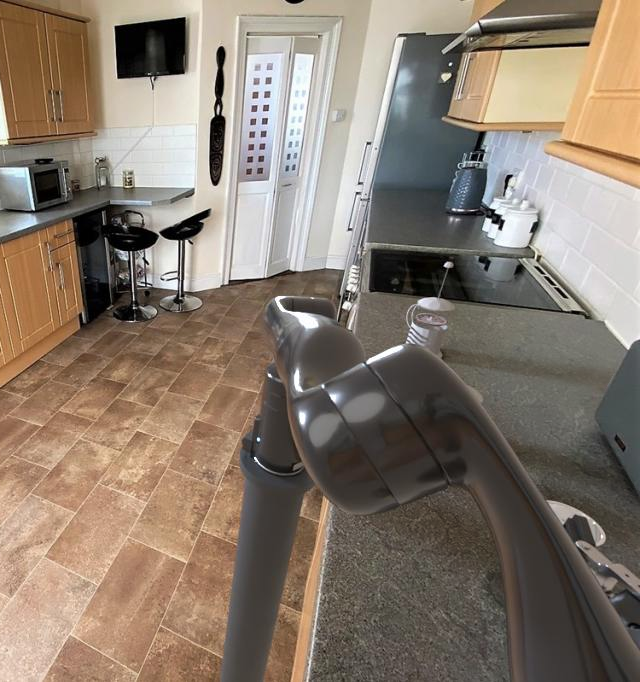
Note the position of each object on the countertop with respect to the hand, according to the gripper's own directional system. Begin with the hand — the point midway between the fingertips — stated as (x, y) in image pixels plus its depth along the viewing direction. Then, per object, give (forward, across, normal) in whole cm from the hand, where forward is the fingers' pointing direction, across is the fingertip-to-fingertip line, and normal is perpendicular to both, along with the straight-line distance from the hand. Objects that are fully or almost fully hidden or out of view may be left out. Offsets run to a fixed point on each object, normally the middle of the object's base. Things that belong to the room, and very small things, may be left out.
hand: (639, 542), depth 39 cm
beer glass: (+11, 0, +24) cm, 27 cm away
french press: (+83, +14, +24) cm, 87 cm away
